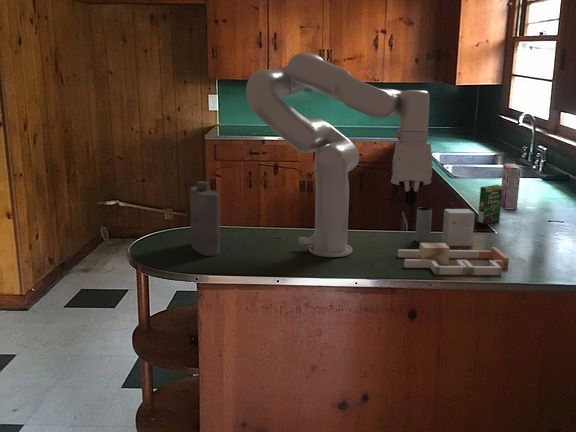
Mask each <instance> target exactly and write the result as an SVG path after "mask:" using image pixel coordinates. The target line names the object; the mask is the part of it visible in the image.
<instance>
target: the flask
mask: <svg viewBox="0 0 576 432" xmlns="http://www.w3.org/2000/svg"><path fill="white" fill-rule="evenodd" d="M209 186H210V185H209V182H207V181H206V180H205V181H204V180H203V181H202V180H201V181H200V180H199V181H197V182H195V186H191V187H190V188H189V196H190V197H189V201H190V207H189V208H190V239H191V240H190V243H191V247H192V249H193V250H194V251H196V252H197V253H198V254H199V255H200V254H201V255H203V256H205V257H216V256H218V255H220V254H221V249H220V248H221V247H220V245H221V243H220V242H221V241H220V240H221V238H220V236H221V235H220V234H221V233H220V232H221V231H220V227H221V226H220V194H219V193H218V192H216V191H213V190H211V189H209Z"/></svg>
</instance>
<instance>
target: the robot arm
mask: <svg viewBox="0 0 576 432" xmlns="http://www.w3.org/2000/svg"><path fill="white" fill-rule="evenodd" d="M306 89H310V90H312V91H315V92H317V93H319V94H322V95H325V96H327V97H328V98H332V99H333V100H335V101H336V102H338V103H340V104H343V105H344V106H346V107H348V108H349V109H352V110H354V111H356V112H359V113H360V114H361V113H362V114H363V115H365V116H368V117H371V118H373V119H377V120H378V119H379V120H381V119H382V120H384V119H387V118H392V117H399V120H398V121H399V123H398V125H399V127H398V128H399V129H398V131H397V132H393V135H392V136H393V139H397V140H398V141H396V143H395V145H394V150H393V158H392V165H391V166H392V167H391V180H390V183H391V184H393V185H397V186H400V187H401V188H402V190H403V191H404V194H403V195H404V197H403V201H404V203H405V205H406V206H407V207H410V206H411V207H415V203H417V194H418V193H417V192H419V189H421V188H422V187H423V186H425V185H426V186H427V185H430V184H431V183H432V177H433V153H432V144H431V142H429V141H428V136H429V118H430V117H429V115H430V98H431V97H430V93H429V92H428V90H421V89H407V90H400V89H393V88H379V87H376V86H373V85H372V84H369V83H366V82H363V81H362V80H359V78H356V77H355V76H353V75H352V74H351V73H350V71H349V70H348V69H345V68H343V67H342V66H339V65H336V64H333V63H331V62H328V61H326V60H324V59H323V58H322V57H321V56H320V55H318V54H315V53H308V52H306V53H305V52H299V53H296V54H294V55H292V57H291V58H290V59H289V61H288V62H287V65H286V66H283V67H280V68H278V69H269V68H268V69H267V68H266V69H260V70H258V71H255V72H254V73H253V74H251V75H250V77H249V79H248V80H247V84H246V91H245V93H246V99H247V103H248V105H249V108H250V109H251V111H252V112H253V114H255V116H256V117H257V118H258V119H259V120H260V121H262V123H264V124H265V125H266V126H268V127H269V128H270V129H271V130H273V131H274V133H276V134H277V135H278V136H279V137H281V139H283V140H284V141H286V142H287V143H288V144H289V145H290V146H292V148H294V149H295V150H296V151H297V152H299V153H303V154H308V153H312V152H314V153H315V156H314V161H313V169H314V178H315V207H314V208H315V211H314V214H315V215H314V233H313V234H312V236H309V237H305V236H303V237H301V236H300V237H298V244H299V245H300V244H301V245H303V246H308V251H309V252H310V253H311V254H312V255H314V256H319V257H324V258H339V257H340V258H342V257H347V256H350V255H351V254H352V253H353V247H352V246H351V245H350V244H348V232H349V228H348V227H349V206H350V205H349V203H350V185H349V184H350V183H349V172H350V171H352V170H353V169H355V168H356V167H357V166H358V165H359V164H358V163H359V161H360V153H359V150H358V147H357V146H356V145H355V144H354V143H353V142H352V141H351V140H350V139H349V138H348V137H346V136H345V135H344V134H342V133H341V131H339V130H337V128H335V127H334V126H333V125H331V124H330V123H328V122H327V121H325V120H323V119H321V118H318V117H316V118H315V117H312V118H307V117H305V116H303V115H302V114H301V113H299V112H298V111H297V110H296V109H295V108H294V107H292V106H291V105H290V104H288V103H287V102H285V101H283V100H281V99H283V98H286V97H290V96H291V95H294V94H296V93H298V92H302V91H303V90H306ZM411 181H412V184H411V185H412V186H411V188H410V182H411Z"/></svg>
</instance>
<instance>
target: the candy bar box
mask: <svg viewBox="0 0 576 432" xmlns="http://www.w3.org/2000/svg"><path fill="white" fill-rule="evenodd" d="M521 170H522V168H521V167H519V166H518V165H517V164H516V163H503V164H502V173H501V185H500V186H502V196H501V204H502V205H503V206H502V205H501V206H502V207H503V208H513V209H512V210H518V199H519V189H520V183H521V182H520V181H521V180H520V179H521Z"/></svg>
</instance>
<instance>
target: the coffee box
mask: <svg viewBox="0 0 576 432" xmlns="http://www.w3.org/2000/svg"><path fill="white" fill-rule="evenodd" d="M479 189H480V190H479V191H480V192H479V205H478V206H479V207H478V217H477V223H479V224H482V225H485V224H492V223H498V222H500V217H501V209H502V205H501V196H502V186H501V185H500V184H492V185H486V186H480V188H479Z"/></svg>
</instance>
